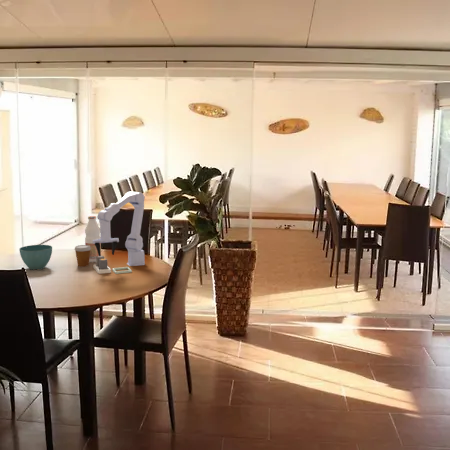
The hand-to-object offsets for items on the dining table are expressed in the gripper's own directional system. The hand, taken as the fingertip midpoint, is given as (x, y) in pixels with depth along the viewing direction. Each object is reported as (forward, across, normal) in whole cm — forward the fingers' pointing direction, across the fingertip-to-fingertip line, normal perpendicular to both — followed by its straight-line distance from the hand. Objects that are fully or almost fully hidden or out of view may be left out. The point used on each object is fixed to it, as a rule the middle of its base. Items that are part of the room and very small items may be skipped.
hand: (106, 255), depth 322 cm
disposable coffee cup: (+10, -10, +19) cm, 24 cm away
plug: (+9, -2, -1) cm, 9 cm away
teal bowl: (+10, -36, +24) cm, 45 cm away
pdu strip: (+10, -2, +3) cm, 10 cm away
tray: (+10, +8, -4) cm, 13 cm away
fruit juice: (+10, -2, +30) cm, 32 cm away
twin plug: (+9, -2, +7) cm, 12 cm away
